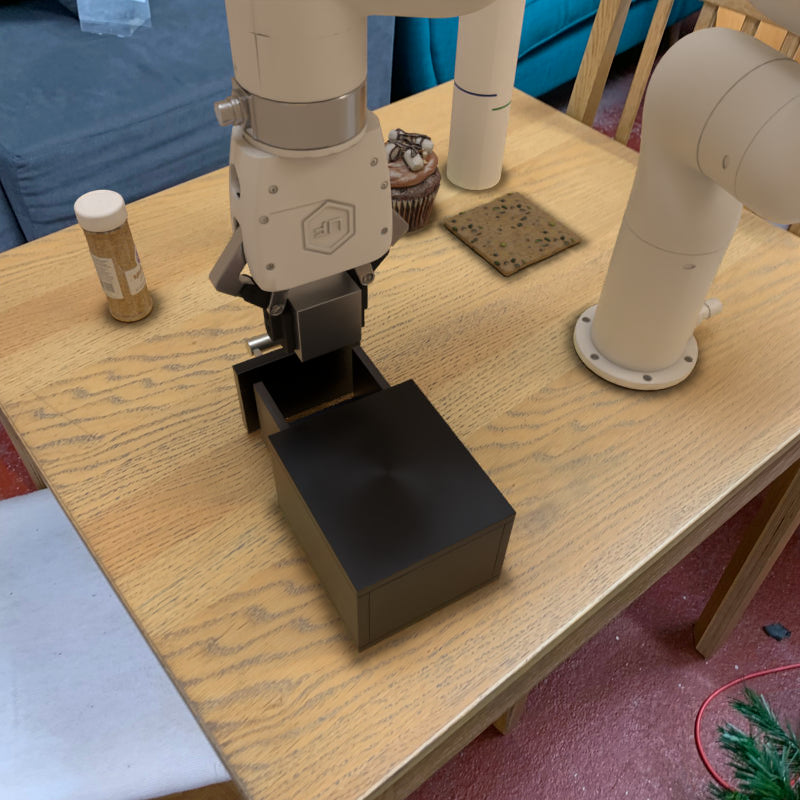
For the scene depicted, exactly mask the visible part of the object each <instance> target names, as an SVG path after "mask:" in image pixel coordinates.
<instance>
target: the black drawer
mask: <svg viewBox="0 0 800 800" xmlns="http://www.w3.org/2000/svg"><path fill="white" fill-rule="evenodd" d="M244 345H245V348H246V351H247V353H248V355H249V356H250V357H252V358H249V359H247V360H243V361H241V362H238V363H235V364H232V365H231V368H232V373H233V378H234V379H233V380H234V383H235V388H236V393H237V399H238V403H239V408H240V415H241V419H242V424H243V427H244V428H245V430H246V432H247V434H252V433H254V432H256V431H259V430H260V432H261V439H262V441H263V443H264V445H265V446H266V448H267V450H268V451H269V452H270V448H269V443H268V436H269V435H272V434H274V433H277V432H279V431H282V430H284V429H287V428H289V427H292V426H294V425H297V424H299V423H302V422H304V421H307V420H309V419H312V418H314V417H317V416H319V415H322V414H324V413H327V412H329V411H332V410H334V409H337V408H339V407H342V406H344V405H347V404H349V403H352V402H354V401H357V400H359V399H362V398H364V397H367V396H369V395H372V394H374V393H377V392H379V391H382V390H384V389H387V388H389V387H392V386H391V384H390V383H389V382H388V380H387V379H386V378H385V376H384V375H383V373H382V372H381V371H380V370H379V368H378V367H377V366H376V364H375V362H373V360H372V359H371V358H370V356H369V355H368V354H367V352H366V351H365V350H364V348H363V347H362V346H361V341H359V342H356V343H353V344H350V345H348V346H345V347H342V348H339V349H337V350H334V351H331V352H329V353H326V354H323V355H320V356H318V357H315V358H312V359H309V360H307V361H304V362H302V361H301V360H300V358H299V357H298V355H297V354H296V352H295V351H294V352H293V353H290V354H287V353H286V352H285V350H284V349H283V347H282V346H281V344H280V343H279V341H278V340H277V341H274V342H272V340H271V339H270V337H269V336H268V334H267V332H264V333H261V334H258V335H256V336H252V337H250V338H247V339H245V340H244ZM279 347H280V348H279ZM277 348H278V349H277ZM268 351H269V352H268ZM350 394H352V397H350V398H347V399H345V400H342V401H340V402H338V403H335V404H332V405H329V406H328V407H325V408H323V409H319V410H317V411H315V412H312V413H310V414H308V415H305V416H302V417H299V418H297V419H294V420H292V421H290V422H287V419H290V418H292V417H295V416H296V415H300V414H302V413H305V412H307V411H309V410H313V409H314V408H318V407H320V406H322V405H324V404H327V403H330V402H332V401H334V400H337V399H340V398H342V397H345V396H347V395H350Z"/></svg>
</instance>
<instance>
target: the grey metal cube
mask: <svg viewBox="0 0 800 800" xmlns="http://www.w3.org/2000/svg"><path fill="white" fill-rule="evenodd" d="M286 305H287V306H288V308H289V309H290V311H291V312H292V315H293V324H294V334H295V344H296V350H294V351H295V352H296V354H297V355H298V357H299V358H300V360H301V361H302V362H304V361H307V360H309V359H312V358H315V357H318V356H320V355H323V354H326V353H329V352H331V351H334V350H337V349H339V348H342V347H345V346H348V345H350V344H353V343H356V342H359V341H360V342H361V341H362V339H363V338H362V337H363V336H362V328H361V289H360V288H359V287H358V286H357V284H356V283H355V282H354V281H353V279H352V278H351V277H350V276H349V274H348V273H347V272H346V271H343V272H340V273H337V274H334V275H331V276H328V277H325V278H322V279H319V280H316V281H313V282H310V283H307V284H303V285H300V286H297V287H294V288H291V289H289V292H288V296H287V300H286Z"/></svg>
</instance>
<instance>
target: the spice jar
mask: <svg viewBox="0 0 800 800" xmlns="http://www.w3.org/2000/svg"><path fill="white" fill-rule="evenodd" d="M73 210H74V214H75V218H76V220H77V223H78V225H79V226H80V228H81V230H82V231H83V235H84V237H85V240H86V243H87V246H88V252H89V254H90V257H91V260H92V262H93V266H94V268H95V272H96V274H97V277H98V279H99V283H100V285H101V288H102V291H103V293H104V294H105V298H106V301H107V303H108V309H109V313H110V315H111V316H112V318H114V319H116V320H118V321H120V322H127V323H129V322H136V321H139V320H142V319H143V318H145V317H147V316H148V315H149V314H150V313H151V312H152V311H153V310H152V309H153V308H154V307H153V306H154V303H153V299H152V296H151V295H150V292H149V289H148V285H147V281H146V280H147V279H146V277H145V273H144V270H143V267H142V263H141V260H140V256H139V254H138V253H139V252H138V250H137V246H136V243H135V242H134V238H133V234H132V231H131V227H130V224H129V221H128V216H129V214H128V210H127V206H126V202H125V200H124V198H123V196H122V195H121V194H120V193H119V192H116V191H114V190H109V189H97V190H92V191H89V192H86V193H84V194H83V195H81V196H79V197H78V198H77V199H76V201H75V202H74V205H73Z"/></svg>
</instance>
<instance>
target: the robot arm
mask: <svg viewBox="0 0 800 800" xmlns="http://www.w3.org/2000/svg"><path fill="white" fill-rule="evenodd" d="M494 1H496V0H224V4H225V5H224V6H225V13H226V20H227V29H228V36H229V44H230V53H231V60H232V67H233V73H234V76H233V77H231V80H230V81H231V86H232V87H231V88H232V89H231V92H230V93H231V94H230V95H229V96H226V97H225V99H223V100H218V101H214V103H213V110H214V114H215V118H216V122H218V125H219V126H220V127H221V128H223V127H227V126H231V125H232V129H231V136H230V143H229V144H230V146H229V158H228V196H229V213H230V223H231V232H232V236H231V237H230V239H229V241H228V242H227V244H226V245H225V247H224V249H223V251H222V252H221V254H220V255H219V257H218V259H217V260H216V262H215V263H214V266H213V267H212V268H211V270H210V271H209V274H208V280H209V281H210V283H211V284H212V286H213V288H214V289H215V291H216V292H218V293H222V294H225V295H228V296H231V297H235V298H237V297H238V298H241V299H243V301H244V302H246V303H248V304H251V305H253V306H256V307H258V308H259V309H262V315H263V320H264V322H263V323H264V328H265V332H266V333H267V334H268V336H269V337H270V339H271V340H272V342H274V341H277V340H278V341H279V343H280V344H281V346H280V347H281V348H282V347H283V349H284V350H285V352H286V353H287V354H290V353H293V352H294V350H296V344H295V334H294V324H293V315H292V312H291V311H290V309H289V308H288V306H287V305H286V300H287V296H288V292H289V289H291V288H294V287H297V286H300V285H303V284H307V283H310V282H313V281H316V280H319V279H322V278H325V277H328V276H331V275H334V274H337V273H340V272H343V271H346V272H347V273H348V274H349V276H350V277H351V278H352V279H353V281H354V282H355V283H356V284H357V286H358V287H359V288H360V289H361V329H362V328H364V327H365V326H366V325H365V324H366V323H365V322H366V321H365V319H366V318H365V316H366V315H365V312H366V311H365V310H367V309H368V308H369V285H371V284H372V283H373V282H374V281H375V279H376V275H375V271H376V270H377V269H378V268H379V266H380V265H381V264H382V263H383V261H384V260H385V259H386V258H387V256H388V255H389V253H390V251H391V247H394V246H395V245H396V244H397V243H398V242H399V241H400V240H401V238H403V236H404V235H405V234H406V233H408V232H409V231H408V229H409V225H408V223H407V222H406V221H405V220H404V219H403V218H402V217H401V216H400V215H399V214H398V213H397V212H396V211H395V210H394V209H393V208H392V200H391V186H390V176H389V169H388V162H387V155H386V149H385V144H384V143H385V139H384V138H385V137H384V134H383V129H382V125H381V120H380V118H379V116H377V114H376V113H374V112H373V111H372V110H370V109H369V108H368V17H369V16H386V17H387V16H388V17H405V18H426V19H427V18H428V19H449V18H457V17H459V16H463V15H467V14H470V13H473V12H476V11H478V10H481V9H483V8H485V7H487V6H488V5H490V4H492V3H493V2H494ZM748 1H749V3H750V4H751V6H752V7H753V8H754V9H755V10H756V11H758V12H759V13H760V14H761V15H762V16H764V17H766V18H767V19H768V20H770V21H772V22H773V23H774V24H776V25H777V26H779V27H781V28H783V29H784V30H786V31H788V32H789V33H791V34H793V35H795V36H797V37H798V38H800V0H748ZM640 131H641V132H640V145H639V153H638V159H637V165H636V169H635V175H634V178H633V181H632V186H631V189H630V193H629V196H628V200H627V203H626V207H625V209H624V213H623V216H622V219H621V223H620V227H619V230H618V234H617V237H616V240H615V243H614V247H613V250H612V254H611V257H610V260H609V265H608V267H607V270H606V274H605V277H604V279H603V284H602V287H601V291H600V294H599V298H598V300H597V303H596V304H594V305H592V306H590V307H588V308H587V309H586V310H585V311H583V312H582V313H581V315H580V316H579V318H578V319H577V320H576V323H575V327H574V331H573V336H572V339H573V347H574V348H575V352H576V354H577V355H578V357H579V358H580V360H581V361H582V362H583V364H584V365H585V366H586V367H587V368H588V369H590V370H591V371H592V372H593V373H594V374H596V375H597V376H599V377H601V378H602V379H604V380H605V381H608V382H610V383H612V384H615V385H617V386H621V387H624V388H628V389H633V390H639V391H640V390H641V391H656V390H662V389H667V388H671V387H674V386H676V385H678V384H680V383H682V382H683V381H684V380H685V379H687V377H689V376H690V375H691V373H692V372H693V369H694V368H695V365H696V362H697V360H698V358H699V347H698V343H697V340H696V338H695V335H694V333H695V329H697V328H698V327H700V326H701V324H702V323H703V321H707V320H708V319H712V318H713V317H716V316H719V315H720V314H721V313H722V312H723V310H724V309H723V307H724V306H723V303H722V301H721V300H720V299H719V298H718V297H715V296H713V297H710V298H708V299H707V297H708V294H709V292H710V290H711V288H712V285H713V283H714V280H715V278H716V277H717V274H718V272H719V269H720V267H721V264H722V263H723V260H724V257H725V255H726V253H727V250H728V249H729V246H730V244H731V242H732V240H733V238H734V236H735V233H736V232H737V229H738V226H739V224H740V221H741V217H742V214H743V209H744V207H746V208H747V209H748V210H750V211H751V212H753V213H754V214H756V215H757V216H759V218H762V219H764V220H766V221H768V222H770V223H774V224H778V225H795V224H799V223H800V62H798V61H797V60H795V59H794V58H792V57H790V56H789V55H787V54H785V53H783V52H781V51H780V50H777V49H776V48H775V47H773V46H772V45H770V44H767V43H766V42H764V41H763V40H761V39H759V38H757V37H755V36H754V35H750V34H749V33H746V32H744V31H740V30H737V29H734V28H730V27H723V26H712V27H706V28H701V29H698V30H697V29H696V31H693V32H691V33H688V34H686V35H685V36H683V37H682V38H680V39H678V40H677V41H676V42H675V43H674V44H673V45H672V46H670V47H669V48H668V50H667V51H666V52H665V53H664V55H663V56H662V57H661V58H660V60H659V61H658V63H657V64H656V66H655V68H654V71H653V72H652V74H651V77H650V79H649V82H648V84H647V88H646V91H645V97H644V102H643V108H642V118H641V130H640ZM407 231H408V232H407ZM246 266H247V267H248V271H249V273H250V275H249V274H246V273H242V272H243V270H244V268H245V267H246Z"/></svg>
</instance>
